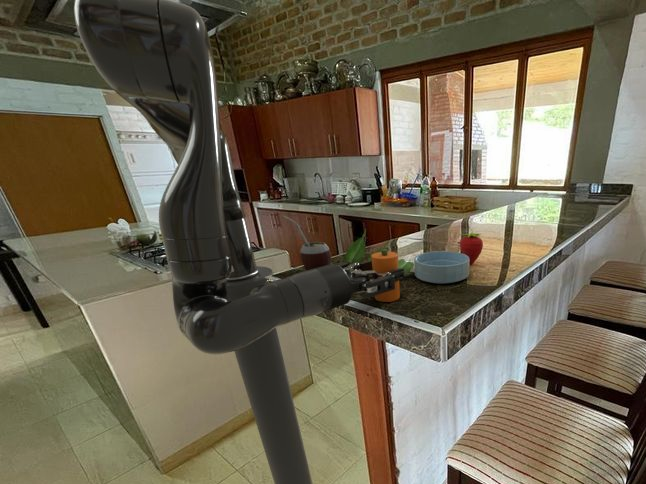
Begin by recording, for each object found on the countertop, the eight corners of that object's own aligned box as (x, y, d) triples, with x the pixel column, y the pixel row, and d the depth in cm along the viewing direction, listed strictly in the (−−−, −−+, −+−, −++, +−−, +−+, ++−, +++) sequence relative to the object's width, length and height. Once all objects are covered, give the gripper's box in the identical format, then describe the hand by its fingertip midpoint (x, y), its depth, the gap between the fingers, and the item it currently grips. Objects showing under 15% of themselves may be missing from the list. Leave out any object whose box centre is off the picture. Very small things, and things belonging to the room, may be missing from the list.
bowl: (403, 278, 80) (403, 260, 78) (435, 265, 89) (435, 248, 87) (448, 289, 73) (449, 269, 71) (478, 273, 82) (479, 256, 80)
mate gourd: (339, 275, 83) (331, 213, 77) (313, 284, 78) (301, 218, 71) (320, 270, 88) (311, 210, 81) (294, 278, 82) (282, 215, 76)
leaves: (400, 300, 83) (422, 262, 89) (400, 286, 77) (423, 246, 83) (337, 272, 86) (362, 237, 91) (333, 257, 80) (359, 221, 85)
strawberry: (461, 269, 86) (462, 230, 81) (457, 261, 92) (458, 224, 88) (484, 268, 86) (486, 229, 81) (478, 260, 92) (481, 223, 88)
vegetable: (369, 298, 69) (365, 250, 65) (387, 290, 73) (383, 245, 69) (388, 304, 66) (384, 254, 62) (405, 296, 70) (403, 249, 66)
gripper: (338, 279, 51) (413, 256, 61) (293, 262, 60) (365, 244, 70) (344, 322, 54) (414, 294, 65) (300, 300, 63) (368, 278, 74)
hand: (388, 268), depth 68 cm, fingers open, 8 cm apart
